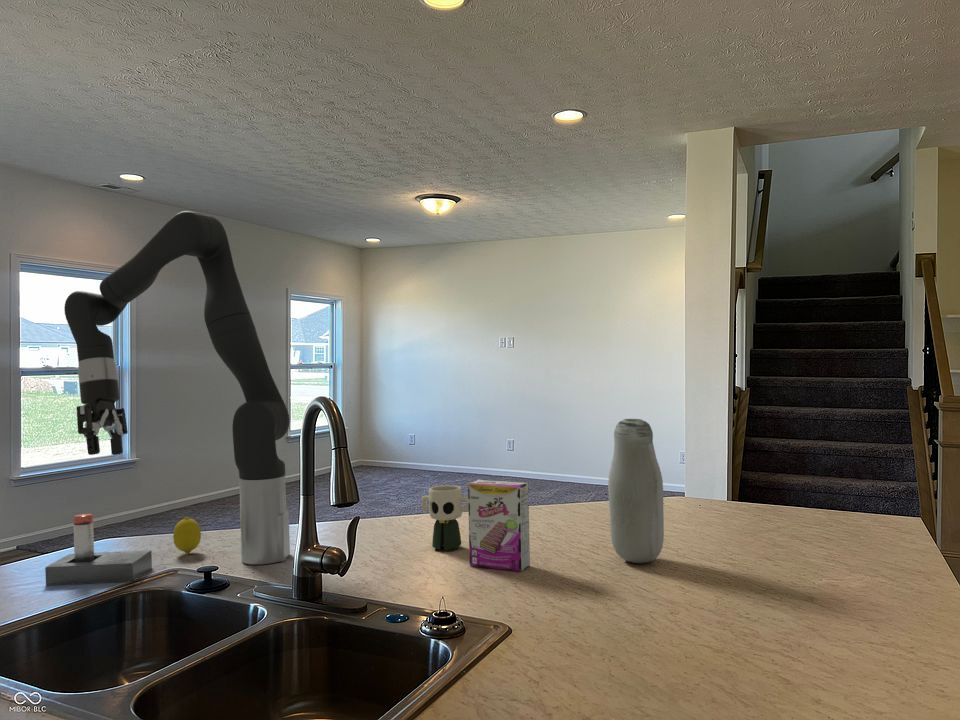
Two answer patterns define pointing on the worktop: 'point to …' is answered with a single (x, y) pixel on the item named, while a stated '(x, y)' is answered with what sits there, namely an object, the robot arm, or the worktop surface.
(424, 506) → the character mug
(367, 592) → the worktop surface
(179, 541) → the lemon
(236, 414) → the robot arm
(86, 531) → the pin
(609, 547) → the worktop surface
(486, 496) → the candy bar box
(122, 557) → the grey block with hole
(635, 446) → the grey bottle
